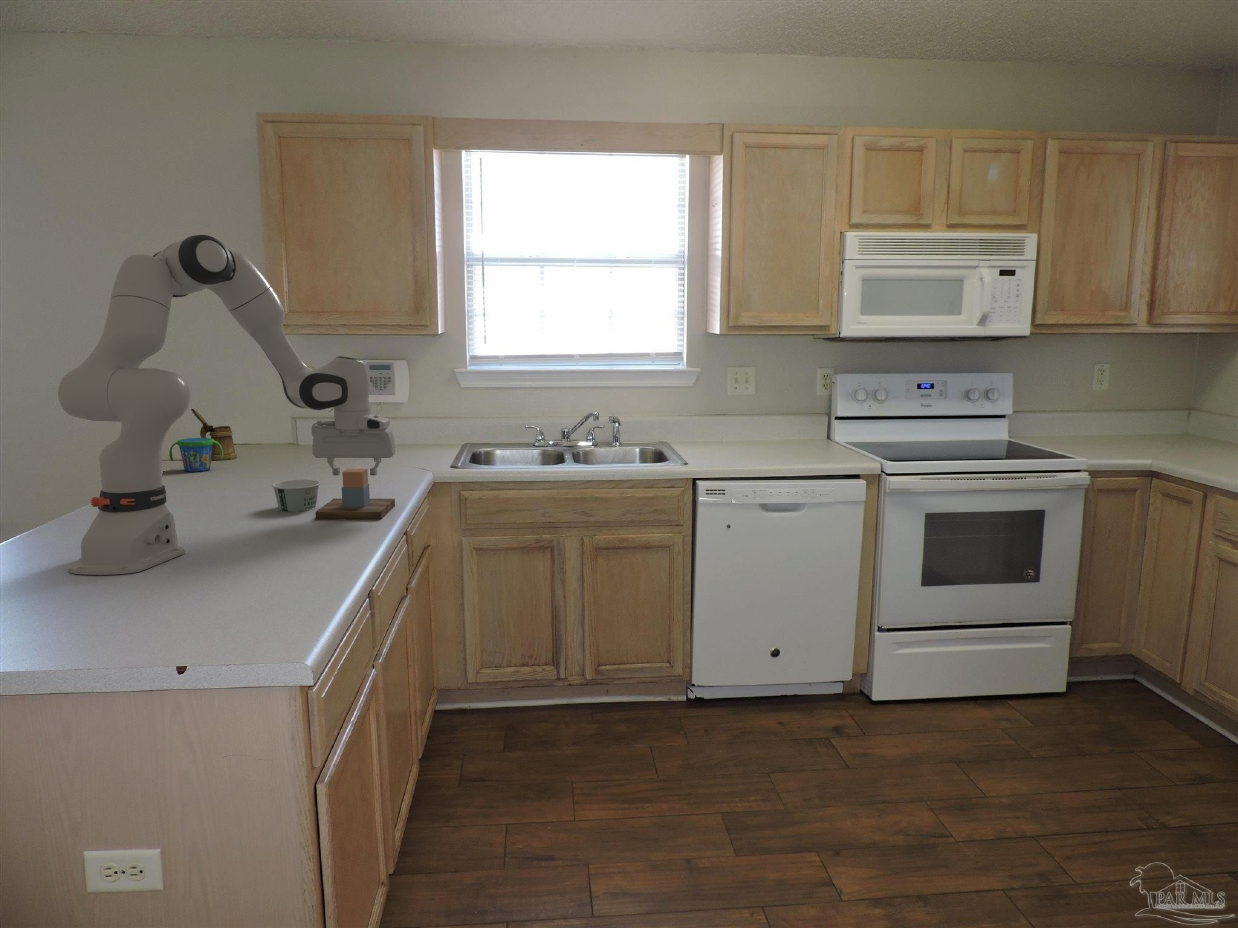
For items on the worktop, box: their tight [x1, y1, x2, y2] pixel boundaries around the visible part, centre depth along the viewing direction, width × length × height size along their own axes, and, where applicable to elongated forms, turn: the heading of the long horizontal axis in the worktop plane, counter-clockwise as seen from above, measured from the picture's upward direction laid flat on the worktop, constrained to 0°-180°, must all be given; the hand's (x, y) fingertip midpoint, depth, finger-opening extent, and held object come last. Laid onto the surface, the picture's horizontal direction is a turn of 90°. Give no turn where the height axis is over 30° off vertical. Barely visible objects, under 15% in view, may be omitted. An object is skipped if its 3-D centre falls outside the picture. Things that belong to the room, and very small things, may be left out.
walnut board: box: [314, 498, 396, 521], centre depth 224 cm, size 16×16×2 cm
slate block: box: [341, 483, 371, 507], centre depth 223 cm, size 6×6×5 cm
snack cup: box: [168, 437, 223, 473], centre depth 282 cm, size 16×10×10 cm
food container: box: [271, 478, 321, 512], centre depth 229 cm, size 12×12×6 cm
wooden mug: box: [191, 408, 238, 461], centre depth 304 cm, size 9×14×18 cm, turn 111°
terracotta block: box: [341, 468, 369, 488], centre depth 222 cm, size 5×5×4 cm
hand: (355, 475), depth 222 cm, fingers open, 8 cm apart
